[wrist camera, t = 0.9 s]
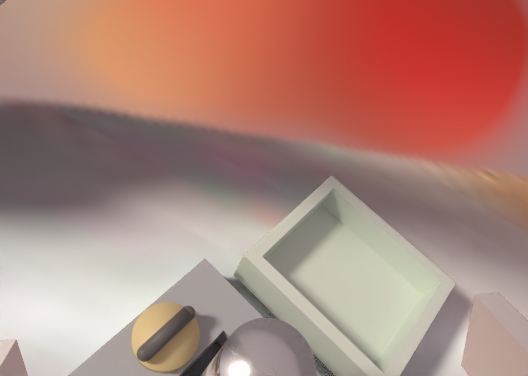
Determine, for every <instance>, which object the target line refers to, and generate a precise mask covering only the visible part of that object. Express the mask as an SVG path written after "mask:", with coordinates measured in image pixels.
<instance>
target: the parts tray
mask: <svg viewBox="0 0 528 376" xmlns="http://www.w3.org/2000/svg"><path fill="white" fill-rule="evenodd" d="M234 276H235V277H236V278H237V279H238V280H239V281H240V282H241V283H242V284H243V285H244V286H245V287H246V288H247V289H248V290H249V291H250V292H251V293H252V294H253V295H254V296H255V297H256V298H257V299H258V300H259V301H260V302H261V303H262V304H263V305H264V306H265V307H266V308H267V309H268V310H269V311H270V312H271V313H272V314H273V315H274V316H275V317H276V318H277V319H279V320H281V321H284V322H286V323H288V324H290V325H291V326H293V327H294V328H295V329H296V330H298V331H299V332H300V333H301V334H302V336H303V337H304V338H305V339H306V341H307V342H308V344H309V346H310V348H311V350H312V353H313V354H314V355H315V356H316V357H317V358H318V359H319V360H320V361H321V362H322V363H323V364H324V365H325V366H326V367H327V368H328V369H329V370H330V371H331V372H332V373H333V374H334V375H335V376H400V375H401V373H402V371H403V370H404V368H405V366H406V365H407V363H408V361H409V360H410V358H411V356H412V355H413V353H414V351H415V350H416V348H417V346H418V345H419V343H420V341H421V340H422V338H423V336H424V335H425V333H426V332H427V330H428V328H429V327H430V325H431V323H432V322H433V320H434V318H435V317H436V315H437V313H438V312H439V310H440V308H441V307H442V305H443V303H444V302H445V300H446V298H447V297H448V295H449V293H450V292H451V290H452V289H453V287H454V285H455V284H456V282H455V281H453V280H452V279H451V278H450V277H449V276H448V275H446V274H445V273H444V272H443V271H442V270H441V269H440V268H438V267H437V266H436V265H435V264H434V263H433V262H431V261H430V260H429V259H428V258H427V257H426V256H424V255H423V254H422V253H421V252H420V251H419V250H418V249H416V248H415V247H414V246H413V245H412V244H411V243H409V242H408V241H407V240H406V239H405V238H404V237H402V236H401V235H400V234H399V233H398V232H397V231H396V230H394V229H393V228H392V227H391V226H390V225H389V224H387V223H386V222H385V221H384V220H383V219H382V218H381V217H379V216H378V215H377V214H376V213H375V212H374V211H372V210H371V209H370V208H369V207H368V206H367V205H365V204H364V203H363V202H362V201H361V200H360V199H359V198H357V197H356V196H355V195H354V194H353V193H352V192H350V191H349V190H348V189H347V188H346V187H345V186H344V185H342V184H341V183H340V182H339V181H338V180H337V179H335V178H334V177H333V176H332V175H331V176H330V177H329V178H328V179H327V180H326V181H325V182H323V183H322V184H321V185H320V186H319V187H318V188H317V189H316V190H315V191H314V192H312V193H311V194H310V195H309V196H308V197H307V198H306V199H305V200H304V201H303V202H302V203H300V204H299V205H298V206H297V207H296V208H295V209H294V210H293V211H292V212H291V213H290V214H288V215H287V216H286V217H285V218H284V219H283V220H282V221H281V222H280V223H279V224H278V225H276V226H275V227H274V228H273V229H272V230H271V231H270V232H269V233H268V234H267V235H266V236H264V237H263V238H262V239H261V240H260V241H259V242H258V243H257V244H256V245H255V246H254V247H252V248H251V249H250V250H249V251H248V252H247V253H246V254H245V255H244V256H243V258H242V260H241V262H240V264H239V266H238V268H237V269H236V271H235V273H234Z"/></svg>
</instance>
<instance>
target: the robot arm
mask: <svg viewBox="0 0 528 376" xmlns="http://www.w3.org/2000/svg"><path fill="white" fill-rule="evenodd" d="M5 1H6V0H0V5H1V4H2V3H4V2H5ZM461 366H462V367H463V368H464V370H465V371H466V373H467V374H468V375H469V376H528V320H527V319H526V318H525V317H524V316H523V315H522V314H521V313H520V312H519V311H518V310H516V309H515V308H514V307H513V306H512V305H511V304H510V303H509V302H508V301H507V300H506V299H505V298H504V297H503V296H502V295H501V294H500V293H489V294H478V295H475V297H474V303H473V308H472V313H471V318H470V323H469V328H468V333H467V338H466V343H465V348H464V353H463V358H462V363H461ZM0 376H28V375H27V371H26V368H25V365H24V362H23V359H22V356H21V352H20V349H19V346H18V343H17V340H16V339H13V340H3V341H0Z"/></svg>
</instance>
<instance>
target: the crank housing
mask: <svg viewBox="0 0 528 376" xmlns="http://www.w3.org/2000/svg"><path fill="white" fill-rule="evenodd" d="M257 318H264V317H263V316H262V315H261V314H260V313H259V312H258V311H257V310H256V309H255V308H254V307H253V306H252V305H251V304H250V303H249V302H248V301H247V300H246V299H245V298H244V297H243V296H242V295H241V294H240V293H239V292H238V291H237V290H236V289H235V288H234V287H233V286H232V285H231V284H230V283H229V282H228V281H227V280H226V279H225V278H224V277H223V276H222V275H221V274H220V273H219V272H218V271H217V270H216V269H215V268H214V267H213V266H212V265H211V264H210V263H209V262H208V261H207V260H206V259H204V260H203V261H202V262H200V263H199V264H198V265H197V266H196V267H195V268H193V269H192V270H191V271H190V272H189V273H188V274H186V275H185V276H184V277H183V278H182V279H181V280H179V281H178V282H177V283H176V284H175V285H174V286H172V287H171V288H170V289H169V290H168V291H167V292H165V293H164V294H163V295H162V296H161V297H160V298H158V299H157V300H156V301H155V302H154V303H153V304H151V305H150V306H149V307H148V308H147V309H146V310H144V311H143V312H142V313H141V314H140V315H139V316H137V317H136V318H135V319H134V320H133V321H132V322H130V323H129V324H128V325H127V326H126V327H125V328H123V329H122V330H121V331H120V332H119V333H118V334H116V335H115V336H114V337H113V338H112V339H111V340H109V341H108V342H107V343H106V344H105V345H104V346H102V347H101V348H100V349H99V350H98V351H97V352H95V353H94V354H93V355H92V356H91V357H90V358H88V359H87V360H86V361H85V362H84V363H83V364H81V365H80V366H79V367H78V368H77V369H76V370H74V371H73V372H72V373H71V374H70V375H69V376H183V375H184V374H185V373H186V372H187V371H188V370H189V369H190V368H191V367H192V366H193V365H194V364H195V363H196V362H197V361H198V360H199V359H200V358H201V356H202V355H203V354H204V353H205V352H206V351H207V350H208V349H209V348H210V347H211V346H212V345H213V344H214V343H215V342H216V341H217V342H218V343H219V344H220V345H221V346H223V345H224V343H225V342H226V341H227V339H228V338H229V337H230V335H231V334H232V333H233V332H234V331H235V330H236V329H237V328H238V327H239V326H241V325H242V324H244V323H246V322H248V321H250V320H253V319H257ZM316 373H317V375H316V376H322V375H321V374H320V373H319V372H318V371H317V370H316Z"/></svg>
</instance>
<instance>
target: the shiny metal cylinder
mask: <svg viewBox="0 0 528 376" xmlns="http://www.w3.org/2000/svg"><path fill="white" fill-rule="evenodd" d="M316 375H317V373H316V363H315V359H314V355H313V353H312V350H311V348H310V346H309V344H308V342H307V341H306V339H305V338H304V337H303V336H302V334H301V333H300V332H299V331H298V330H296V329H295V328H294V327H293V326H291V325H290V324H288V323H286V322H284V321H281V320H279V319H274V318H257V319H253V320H250V321H248V322H246V323H244V324H242V325H241V326H239V327H238V328H237V329H236V330H235V331H234V332H233V333H232V334H231V335H230V337H229V338H228V339H227V341H226V342H225V343H224V345H223V346H222V347H221V349H220V350H219V351H218V353H217V354H216V355H215V357H214V358H213V360H212V361H211V362H210V364H209V365H208V366H207V368H206V369H205V370H204V372H203V373H202V374H201V376H316Z"/></svg>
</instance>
